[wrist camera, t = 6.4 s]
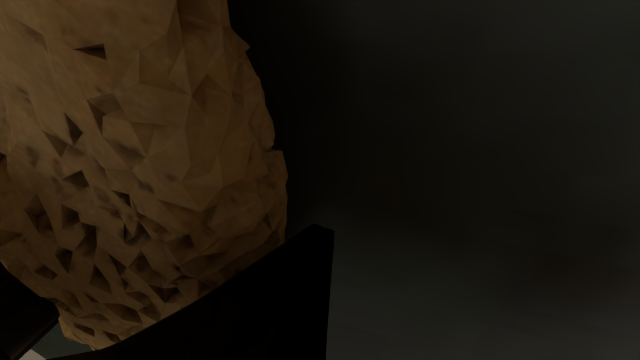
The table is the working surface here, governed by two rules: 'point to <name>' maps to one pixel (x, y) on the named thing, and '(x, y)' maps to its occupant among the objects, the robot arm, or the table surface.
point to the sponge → (131, 159)
